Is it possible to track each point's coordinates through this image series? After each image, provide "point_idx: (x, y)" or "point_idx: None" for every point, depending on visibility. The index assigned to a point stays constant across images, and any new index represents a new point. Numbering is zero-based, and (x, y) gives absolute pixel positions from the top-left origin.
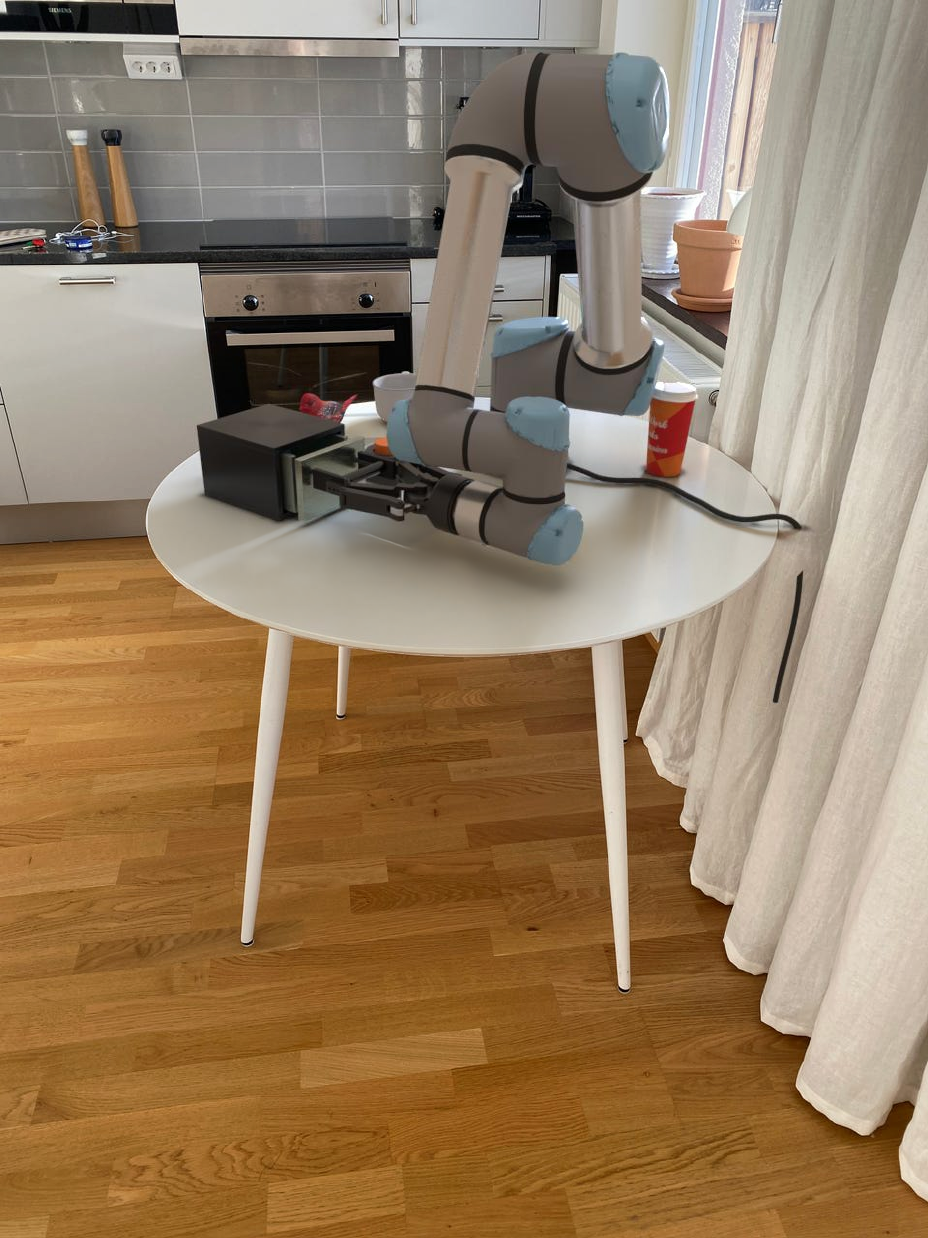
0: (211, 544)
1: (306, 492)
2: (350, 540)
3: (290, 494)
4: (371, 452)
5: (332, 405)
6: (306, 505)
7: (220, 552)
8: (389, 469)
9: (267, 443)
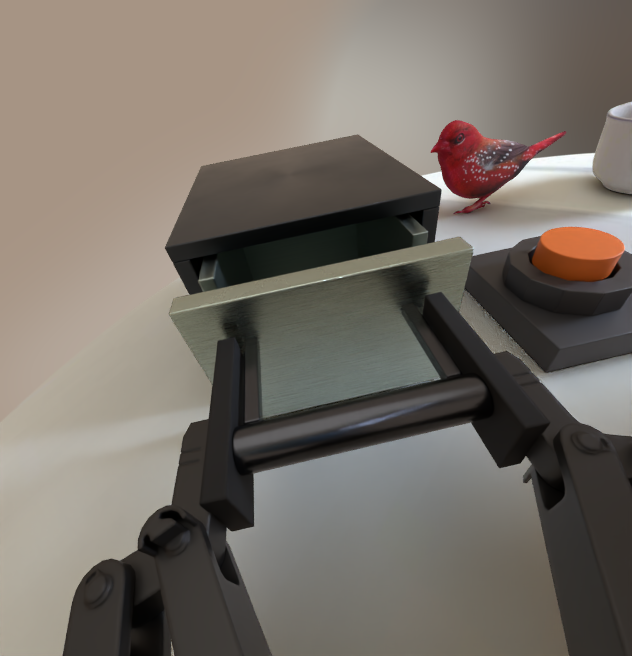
0: (92, 397)
1: None
2: (260, 584)
3: None
4: (521, 259)
5: (503, 147)
6: None
7: (63, 434)
8: (500, 432)
9: (188, 226)
